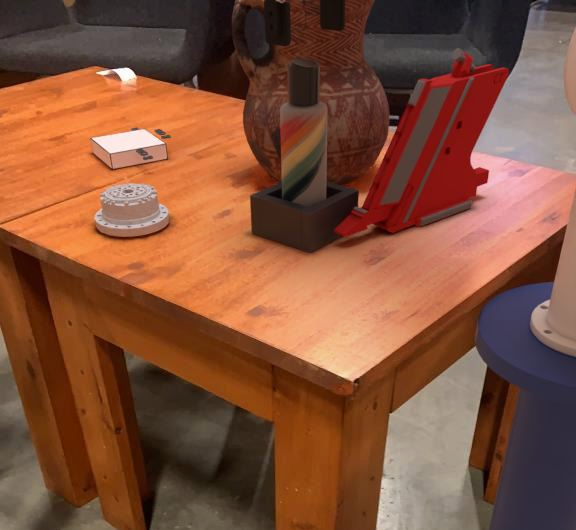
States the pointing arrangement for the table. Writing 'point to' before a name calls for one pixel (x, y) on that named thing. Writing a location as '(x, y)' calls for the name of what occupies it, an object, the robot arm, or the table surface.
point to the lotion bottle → (303, 135)
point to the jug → (333, 89)
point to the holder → (301, 216)
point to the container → (130, 148)
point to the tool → (432, 151)
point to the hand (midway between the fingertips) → (306, 36)
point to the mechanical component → (130, 211)
